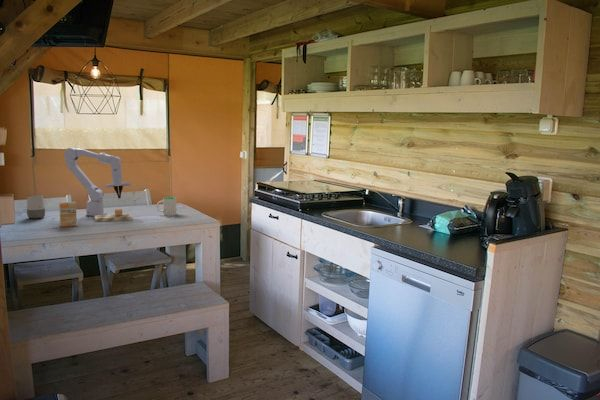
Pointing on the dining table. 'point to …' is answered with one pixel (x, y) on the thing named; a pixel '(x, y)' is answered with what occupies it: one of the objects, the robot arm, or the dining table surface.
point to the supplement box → (68, 214)
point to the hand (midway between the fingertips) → (119, 198)
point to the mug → (168, 206)
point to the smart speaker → (35, 207)
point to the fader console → (112, 217)
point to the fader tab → (118, 212)
